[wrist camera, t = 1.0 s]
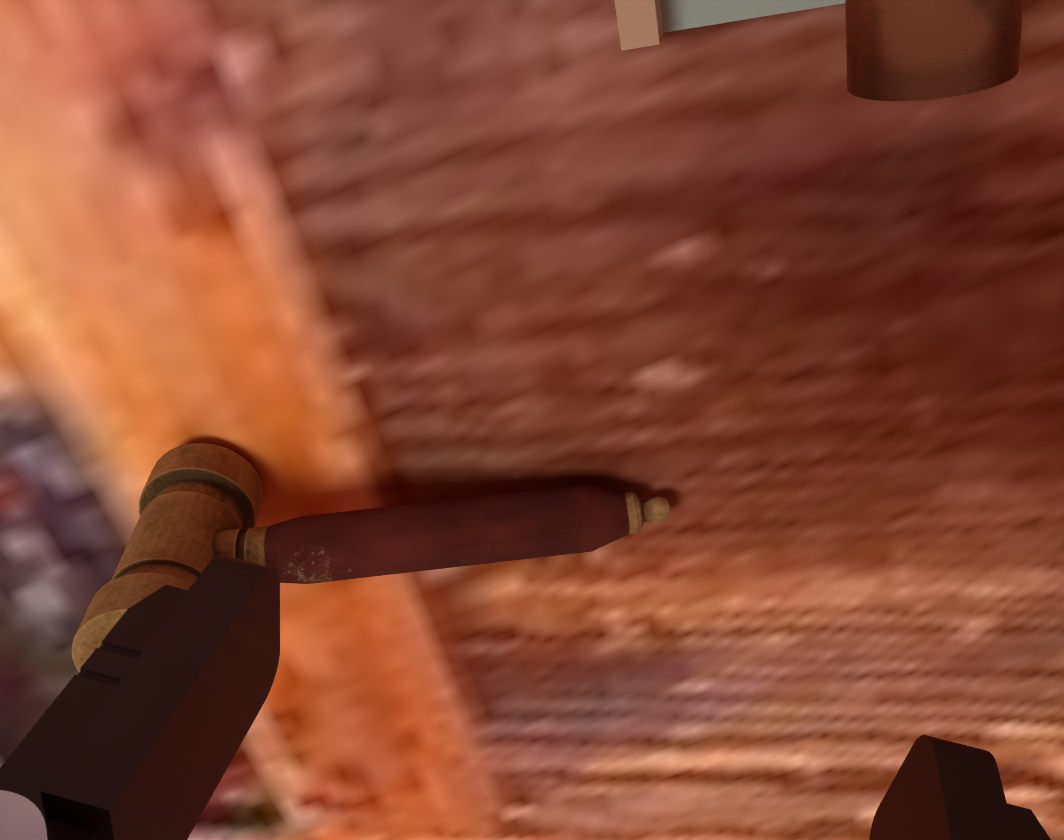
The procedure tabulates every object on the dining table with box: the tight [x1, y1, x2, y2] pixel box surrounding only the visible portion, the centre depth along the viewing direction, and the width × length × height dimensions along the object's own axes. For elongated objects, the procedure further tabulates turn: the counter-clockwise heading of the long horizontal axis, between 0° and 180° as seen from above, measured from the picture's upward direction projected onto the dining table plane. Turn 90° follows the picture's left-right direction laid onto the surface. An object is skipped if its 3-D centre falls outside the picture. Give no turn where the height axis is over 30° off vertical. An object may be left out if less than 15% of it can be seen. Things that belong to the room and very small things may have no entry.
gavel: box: [72, 443, 671, 672], centre depth 37 cm, size 21×5×10 cm, turn 96°
